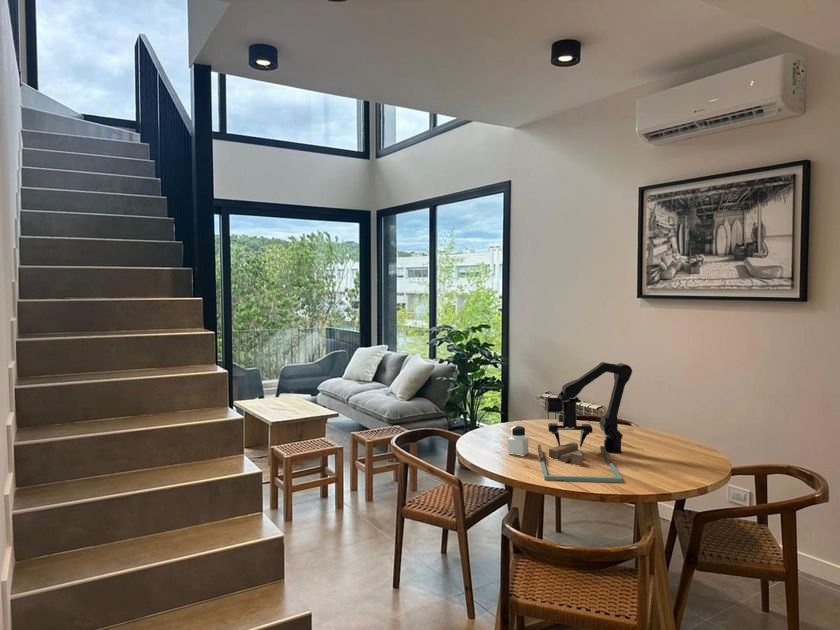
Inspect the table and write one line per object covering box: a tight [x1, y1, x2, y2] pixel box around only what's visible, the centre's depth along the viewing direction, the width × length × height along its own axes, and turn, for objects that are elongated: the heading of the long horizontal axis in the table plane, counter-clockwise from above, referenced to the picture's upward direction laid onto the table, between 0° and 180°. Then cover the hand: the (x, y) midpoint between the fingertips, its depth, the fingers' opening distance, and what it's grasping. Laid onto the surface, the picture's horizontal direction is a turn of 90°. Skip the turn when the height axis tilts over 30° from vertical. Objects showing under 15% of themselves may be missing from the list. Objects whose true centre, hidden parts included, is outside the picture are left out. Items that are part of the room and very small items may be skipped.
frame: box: [540, 461, 623, 484], centre depth 223 cm, size 28×19×2 cm
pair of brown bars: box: [537, 444, 613, 466], centre depth 243 cm, size 28×20×3 cm
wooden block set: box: [548, 442, 584, 468], centre depth 243 cm, size 17×6×18 cm
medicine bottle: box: [507, 425, 529, 456], centre depth 251 cm, size 7×7×12 cm
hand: (570, 446), depth 254 cm, fingers open, 9 cm apart
